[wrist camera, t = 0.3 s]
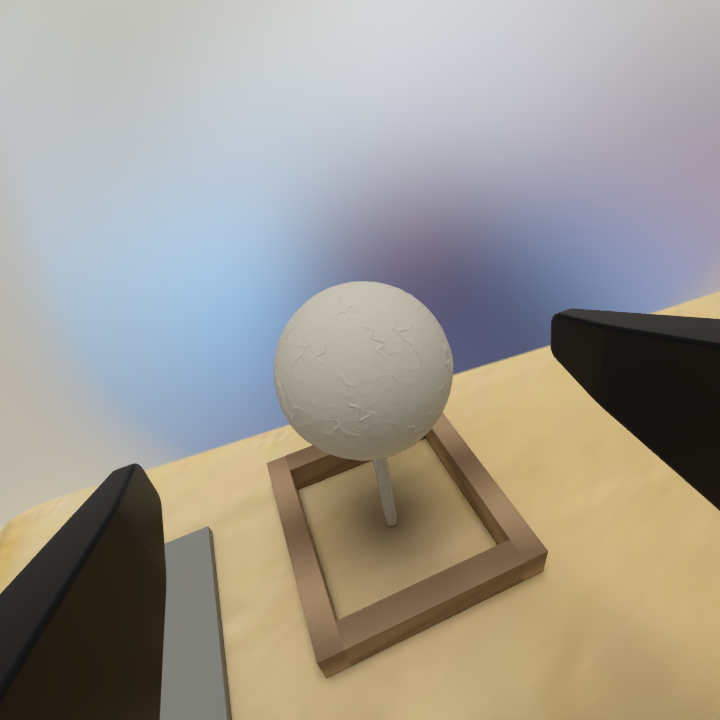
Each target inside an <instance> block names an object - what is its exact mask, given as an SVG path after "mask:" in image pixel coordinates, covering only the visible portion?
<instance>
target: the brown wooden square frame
mask: <svg viewBox="0 0 720 720" xmlns="http://www.w3.org/2000/svg"><path fill="white" fill-rule="evenodd" d="M424 438H426V439H427V440H428V442H429V443H430V445H431V446H432V448H433V449H434V451H435V452H436V454H437V455H438V457H439V458H440V459H441V461H442V462H443V464H444V465H445V467H446V468H447V470H448V471H449V473H450V474H451V476H452V477H453V479H454V480H455V482H456V483H457V485H458V486H459V488H460V489H461V491H462V492H463V494H464V495H465V497H466V498H467V500H468V501H469V503H470V504H471V506H472V507H473V509H474V510H475V512H476V513H477V515H478V516H479V518H480V519H481V521H482V522H483V524H484V525H485V527H486V528H487V530H488V531H489V533H490V534H491V535H492V537H493V538H494V540H495V541H496V543H497V544H498V545H497V546H495V547H493V548H491V549H489V550H487V551H484V552H482V553H480V554H478V555H476V556H474V557H472V558H470V559H467V560H465V561H463V562H461V563H459V564H457V565H455V566H453V567H450V568H448V569H446V570H444V571H442V572H440V573H438V574H436V575H433V576H431V577H429V578H427V579H425V580H423V581H421V582H419V583H416V584H414V585H412V586H410V587H408V588H406V589H404V590H402V591H399V592H397V593H395V594H393V595H391V596H389V597H387V598H385V599H382V600H380V601H378V602H376V603H374V604H372V605H370V606H368V607H365V608H363V609H361V610H359V611H357V612H355V613H353V614H351V615H348V616H346V617H344V618H342V619H340V620H337V617H336V614H335V610H334V607H333V604H332V601H331V597H330V594H329V591H328V587H327V584H326V581H325V578H324V574H323V571H322V568H321V565H320V561H319V558H318V555H317V552H316V548H315V545H314V542H313V538H312V535H311V532H310V529H309V525H308V522H307V519H306V516H305V512H304V509H303V506H302V502H301V499H300V496H299V493H298V489H300V488H303V487H305V486H308V485H310V484H313V483H315V482H318V481H320V480H323V479H325V478H328V477H330V476H333V475H335V474H338V473H340V472H343V471H345V470H347V469H350V468H352V467H355V466H357V465H360V464H362V463H365V462H367V461H361V460H351V459H345V458H341V457H337V456H334V455H331V454H328V453H326V452H324V451H322V450H320V449H318V448H317V447H315V446H314V445H312V446H310V447H307V448H305V449H302V450H300V451H297V452H294V453H292V454H289V455H287V456H284V457H281V458H279V459H276V460H274V461H271V462H269V463H267V467H268V470H269V474H270V478H271V482H272V486H273V490H274V494H275V498H276V502H277V506H278V510H279V514H280V518H281V522H282V526H283V530H284V534H285V538H286V542H287V546H288V550H289V554H290V558H291V562H292V566H293V570H294V574H295V578H296V582H297V586H298V590H299V594H300V598H301V602H302V606H303V610H304V613H305V617H306V621H307V625H308V629H309V633H310V637H311V641H312V645H313V649H314V653H315V657H316V661H317V664H318V666H319V667H320V669H321V670H322V672H323V673H324V675H325V677H326V678H327V677H329V676H332V675H334V674H336V673H338V672H340V671H342V670H344V669H346V668H348V667H350V666H352V665H354V664H356V663H358V662H360V661H362V660H364V659H366V658H368V657H370V656H372V655H374V654H376V653H378V652H380V651H382V650H384V649H386V648H388V647H390V646H392V645H394V644H396V643H398V642H400V641H402V640H404V639H406V638H408V637H410V636H412V635H415V634H417V633H419V632H421V631H423V630H425V629H427V628H429V627H431V626H433V625H435V624H437V623H439V622H441V621H443V620H445V619H447V618H449V617H451V616H453V615H455V614H457V613H459V612H461V611H463V610H465V609H467V608H469V607H471V606H473V605H475V604H477V603H479V602H481V601H483V600H485V599H487V598H489V597H491V596H493V595H496V594H498V593H500V592H502V591H504V590H506V589H508V588H510V587H512V586H514V585H516V584H518V583H520V582H522V581H524V580H526V579H528V578H530V577H532V576H534V575H536V574H538V573H540V572H542V571H543V569H544V565H545V561H546V557H547V553H548V551H547V549H546V548H545V547H544V545H543V544H542V543H541V541H540V540H539V539H538V537H537V536H536V535H535V534H534V532H533V531H532V530H531V528H530V527H529V526H528V524H527V523H526V522H525V520H524V519H523V518H522V516H521V515H520V514H519V512H518V511H517V510H516V509H515V507H514V506H513V505H512V503H511V502H510V501H509V499H508V498H507V497H506V495H505V494H504V493H503V491H502V490H501V489H500V488H499V486H498V485H497V484H496V482H495V481H494V480H493V478H492V477H491V476H490V474H489V473H488V472H487V470H486V469H485V468H484V467H483V465H482V464H481V463H480V461H479V460H478V459H477V457H476V456H475V455H474V453H473V452H472V451H471V449H470V448H469V447H468V446H467V444H466V443H465V442H464V440H463V439H462V438H461V436H460V435H459V434H458V432H457V431H456V430H455V428H454V427H453V426H452V425H451V423H450V422H449V421H448V419H447V418H446V417H445V415H444V414H443V413H442V414H441V416H440V418H439V419H438V420H437V422H436V423H435V425H434V426H433V427H432V429H431V430H430V431H429V432H428V433H427V434H426V435H425V436H424V437H423V438H421V439H420V440H422V439H424ZM369 461H370V460H369Z"/></svg>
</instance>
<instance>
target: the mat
mask: <svg viewBox="0 0 720 720" xmlns="http://www.w3.org/2000/svg"><path fill="white" fill-rule="evenodd" d="M164 545H165V559H166V576H167V583H166V608H165V627H164V647H163V667H162V687H161V707H160V720H232V719H231V710H230V700H229V691H228V681H227V671H226V662H225V652H224V643H223V633H222V624H221V614H220V604H219V595H218V585H217V576H216V566H215V557H214V547H213V537H212V531H211V530H210V528H209V527H205V528H203V529H200V530H198V531H195V532H193V533H190V534H188V535H185V536H183V537H180V538H178V539H176V540H173V541H171V542H168V543H166V544H164Z"/></svg>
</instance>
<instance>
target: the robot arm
mask: <svg viewBox="0 0 720 720" xmlns="http://www.w3.org/2000/svg"><path fill="white" fill-rule="evenodd" d="M551 351H552V353H553V355H554V357H555V358H556V359H557V360H558V361H559V362H560V364H561V365H562V366H563V367H564V368H565V369H566V370H567V371H568V372H569V373H570V374H571V375H572V376H573V378H574V379H575V380H576V381H577V382H578V383H579V384H580V385H581V386H582V387H583V388H584V389H585V390H586V391H587V393H588V394H589V395H590V396H591V397H592V398H593V399H594V400H595V401H596V402H597V403H598V404H599V405H600V406H601V407H602V408H603V409H605V410H606V411H607V412H608V413H609V414H610V415H611V416H612V417H614V418H615V419H616V420H617V421H618V422H619V423H620V424H622V425H623V426H624V427H625V428H626V429H627V430H628V431H630V432H631V433H632V434H633V435H634V436H635V437H636V438H638V439H639V440H640V441H641V442H642V443H643V444H644V445H645V446H647V447H648V448H649V449H650V450H651V451H652V452H653V453H655V454H656V455H657V456H658V457H659V458H660V459H661V460H663V461H664V462H665V463H666V464H667V465H668V466H669V467H671V468H672V469H673V470H674V471H675V472H676V473H677V474H679V475H680V476H681V477H682V478H683V479H684V480H685V481H686V482H688V483H689V484H690V485H691V486H692V487H693V488H694V489H696V490H697V491H698V492H699V493H700V494H701V495H702V496H704V497H705V498H706V499H707V500H708V501H709V502H710V503H712V504H713V505H714V506H715V507H716V508H717V509H718V510H720V319H711V318H697V317H683V316H669V315H655V314H641V313H627V312H612V311H600V310H585V309H567V310H565V311H562V312H559V313H556V314H555V315H554V316H553V317H552V320H551ZM166 583H167V576H166V559H165V545H164V532H163V519H162V506H161V500H160V497H159V495H158V493H157V491H156V489H155V488H154V486H153V484H152V483H151V481H150V480H149V478H148V476H147V475H146V473H145V471H144V470H143V469H142V467H141V466H140V465H138V464H131V465H128V466H125V467H123V468H120V469H117V470H115V471H113V472H112V473H111V474H110V475H109V476H108V477H107V479H106V480H105V481H104V482H103V483H102V484H101V485H100V486H99V487H98V488H97V489H96V490H95V492H94V493H93V494H92V495H91V496H90V497H89V498H88V499H87V500H86V501H85V502H84V504H83V505H82V506H81V507H80V508H79V509H78V510H77V511H76V512H75V513H74V514H73V516H72V517H71V518H70V519H69V520H68V521H67V522H66V523H65V524H64V525H63V526H62V527H61V529H60V530H59V531H58V532H57V533H56V534H55V535H54V536H53V537H52V538H51V539H50V541H49V542H48V543H47V544H46V545H45V546H44V547H43V548H42V549H41V550H40V551H39V553H38V554H37V555H36V556H35V557H34V558H33V559H32V560H31V561H30V562H29V563H28V564H27V566H26V567H25V568H24V569H23V570H22V571H21V572H20V573H19V574H18V575H17V576H16V578H15V579H14V580H13V581H12V582H11V583H10V584H9V585H8V586H7V587H6V588H5V590H4V591H3V592H2V593H1V594H0V720H160V707H161V687H162V667H163V647H164V627H165V608H166Z"/></svg>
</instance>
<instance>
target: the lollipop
mask: <svg viewBox="0 0 720 720" xmlns="http://www.w3.org/2000/svg"><path fill="white" fill-rule="evenodd" d="M452 378H453V359H452V353H451V350H450V347H449V344H448V341H447V339H446V336H445V334H444V332H443V330H442V328H441V326H440V325H439V323H438V321H437V320H436V319H435V317H434V316H433V314H432V313H431V312H430V311H429V310H428V309H427V308H426V307H425V306H424V305H423V304H422V303H421V302H420V301H418V300H417V299H416V298H414V297H413V296H412V295H411V294H408V293H406V292H404V291H403V290H401V289H398V288H396V287H392V286H390V285H386V284H382V283H378V282H350V283H344V284H340V285H337V286H333V287H330V288H327V289H326V290H324V291H322V292H320V293H318V294H316V295H315V296H313V297H312V298H310V299H309V300H308V301H307V302H306V303H304V304H303V305H302V306H301V307H300V308H299V309H298V310H297V311H296V313H295V314H294V315H293V316H292V318H291V319H290V320H289V322H288V324H287V325H286V327H285V329H284V331H283V332H282V334H281V337H280V339H279V342H278V345H277V349H276V354H275V361H274V383H275V389H276V393H277V397H278V400H279V402H280V405H281V408H282V411H283V413H284V414H285V416H286V418H287V420H288V422H289V423H290V424H291V426H292V427H293V428H294V430H295V431H296V432H297V433H298V434H299V435H300V436H301V437H302V438H304V439H305V440H306V441H307V442H309V443H311V444H312V445H314V446H315V447H317V448H318V449H320V450H322V451H324V452H326V453H328V454H331V455H334V456H337V457H341V458H345V459H351V460H361V461H369V460H373V462H374V467H375V471H376V476H377V481H378V486H379V491H380V496H381V501H382V506H383V510H384V515H385V520H386V523H387V524H388V525H389V526H394V525H395V524H397V513H396V508H395V502H394V496H393V491H392V485H391V479H390V474H389V468H388V462H387V457H389V456H392V455H395V454H397V453H400V452H402V451H403V450H405V449H407V448H409V447H411V446H412V445H414V444H415V443H416V442H418V441H419V440H420V439H421V438H423V437H424V436H425V435H426V434H427V433H428V432H429V431H430V430H431V429H432V427H433V426H434V425H435V423H436V422H437V420H438V419H439V418H440V416H441V414H442V412H443V410H444V408H445V405H446V403H447V400H448V397H449V394H450V390H451V385H452Z"/></svg>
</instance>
